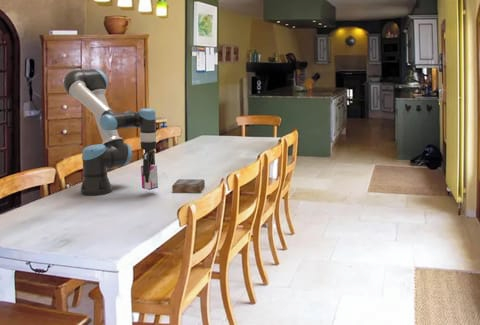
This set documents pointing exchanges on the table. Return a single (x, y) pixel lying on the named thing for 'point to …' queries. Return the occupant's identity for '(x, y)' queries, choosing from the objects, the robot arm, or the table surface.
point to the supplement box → (151, 177)
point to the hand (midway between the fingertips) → (149, 186)
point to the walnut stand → (188, 186)
